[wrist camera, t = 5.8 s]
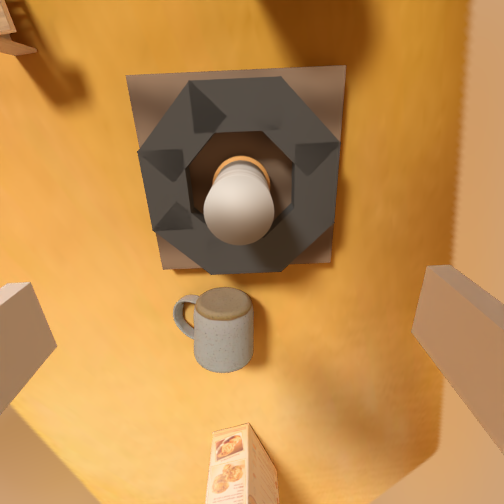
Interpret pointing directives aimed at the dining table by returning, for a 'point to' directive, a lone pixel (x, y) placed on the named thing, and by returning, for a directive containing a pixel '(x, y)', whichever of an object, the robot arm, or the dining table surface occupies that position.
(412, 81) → the dining table surface
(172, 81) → the pipe stand
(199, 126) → the ring
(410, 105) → the dining table surface
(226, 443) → the coffeecake box
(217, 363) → the ceramic mug
